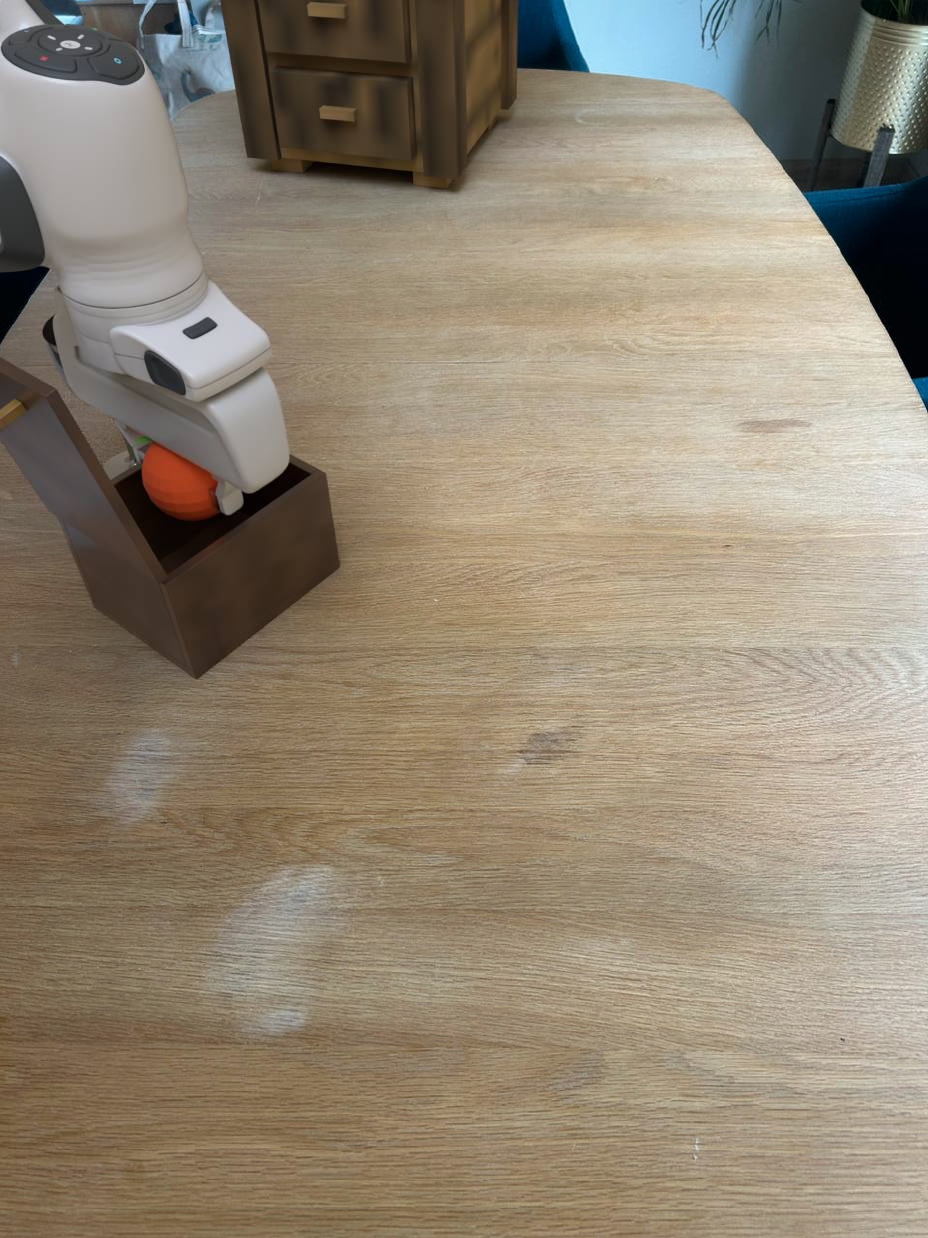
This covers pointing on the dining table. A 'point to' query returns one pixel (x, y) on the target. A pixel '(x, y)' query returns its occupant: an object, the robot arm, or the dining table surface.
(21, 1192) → the dining table surface
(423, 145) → the wooden drawer cabinet
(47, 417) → the lid
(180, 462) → the clementine
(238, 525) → the chest
